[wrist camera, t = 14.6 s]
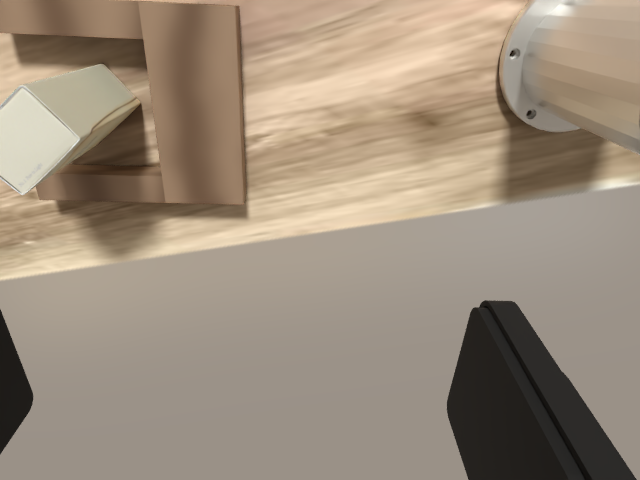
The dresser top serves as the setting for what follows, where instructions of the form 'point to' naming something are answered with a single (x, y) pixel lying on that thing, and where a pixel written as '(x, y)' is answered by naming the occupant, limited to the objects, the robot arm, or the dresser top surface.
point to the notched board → (159, 97)
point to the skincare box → (58, 122)
